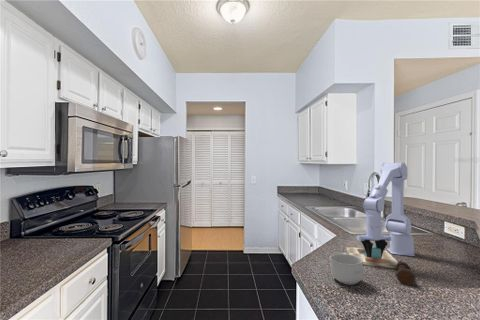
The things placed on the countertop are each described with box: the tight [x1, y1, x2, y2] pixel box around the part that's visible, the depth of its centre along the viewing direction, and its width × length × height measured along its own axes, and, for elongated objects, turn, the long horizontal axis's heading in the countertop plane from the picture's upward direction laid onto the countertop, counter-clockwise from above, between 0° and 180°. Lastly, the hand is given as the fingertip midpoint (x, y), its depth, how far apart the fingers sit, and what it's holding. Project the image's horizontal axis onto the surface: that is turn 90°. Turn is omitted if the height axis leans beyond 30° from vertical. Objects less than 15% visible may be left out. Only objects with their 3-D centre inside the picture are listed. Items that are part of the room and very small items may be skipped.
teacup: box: [329, 252, 364, 286], centre depth 86 cm, size 14×11×8 cm
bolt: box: [394, 260, 417, 286], centre depth 89 cm, size 6×5×15 cm
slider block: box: [364, 245, 381, 259], centre depth 104 cm, size 4×5×6 cm
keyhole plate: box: [345, 246, 399, 269], centre depth 108 cm, size 18×20×2 cm
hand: (374, 257), depth 103 cm, fingers closed on slider block, 4 cm apart
